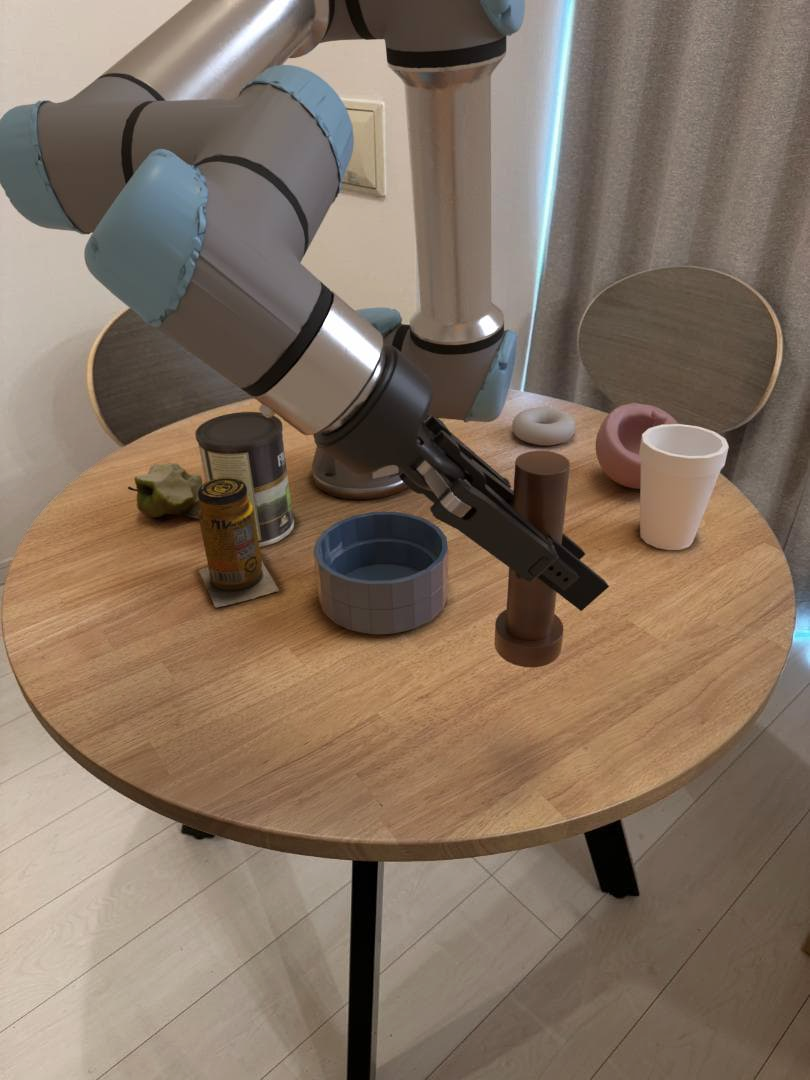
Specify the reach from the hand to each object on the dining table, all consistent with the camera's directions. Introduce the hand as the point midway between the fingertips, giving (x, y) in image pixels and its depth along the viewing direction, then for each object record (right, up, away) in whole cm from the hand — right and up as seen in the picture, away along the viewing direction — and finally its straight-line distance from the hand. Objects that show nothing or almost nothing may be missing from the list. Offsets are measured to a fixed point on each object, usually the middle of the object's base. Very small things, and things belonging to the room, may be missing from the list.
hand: (581, 578), depth 55 cm
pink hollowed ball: (+19, +11, +48) cm, 53 cm away
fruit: (-45, +7, +45) cm, 64 cm away
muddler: (-4, -5, +3) cm, 7 cm away
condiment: (-33, -2, +31) cm, 45 cm away
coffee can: (-33, +4, +41) cm, 52 cm away
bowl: (-16, -4, +27) cm, 31 cm away
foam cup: (+19, +3, +36) cm, 41 cm away
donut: (+9, +19, +63) cm, 66 cm away
